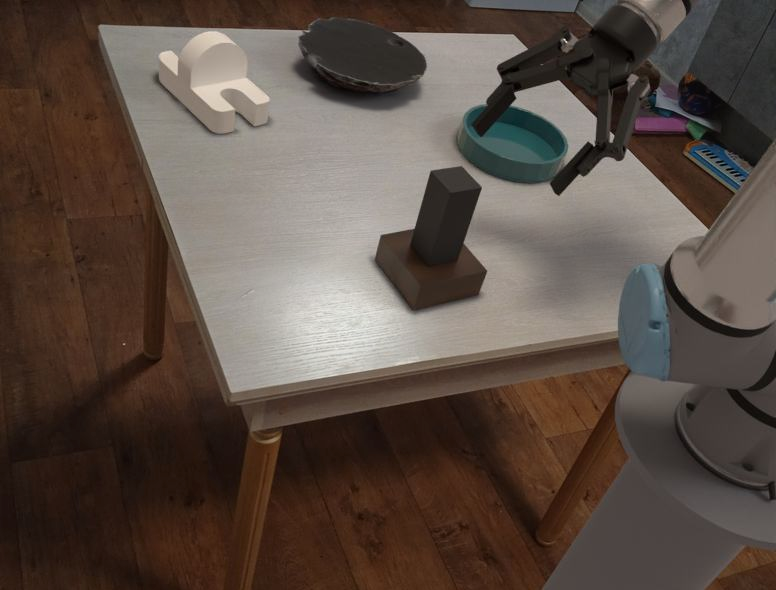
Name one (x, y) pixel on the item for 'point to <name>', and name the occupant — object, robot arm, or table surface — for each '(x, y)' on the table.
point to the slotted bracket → (214, 82)
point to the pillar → (445, 215)
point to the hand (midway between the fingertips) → (513, 159)
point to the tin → (514, 145)
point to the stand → (427, 272)
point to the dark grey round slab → (361, 55)
